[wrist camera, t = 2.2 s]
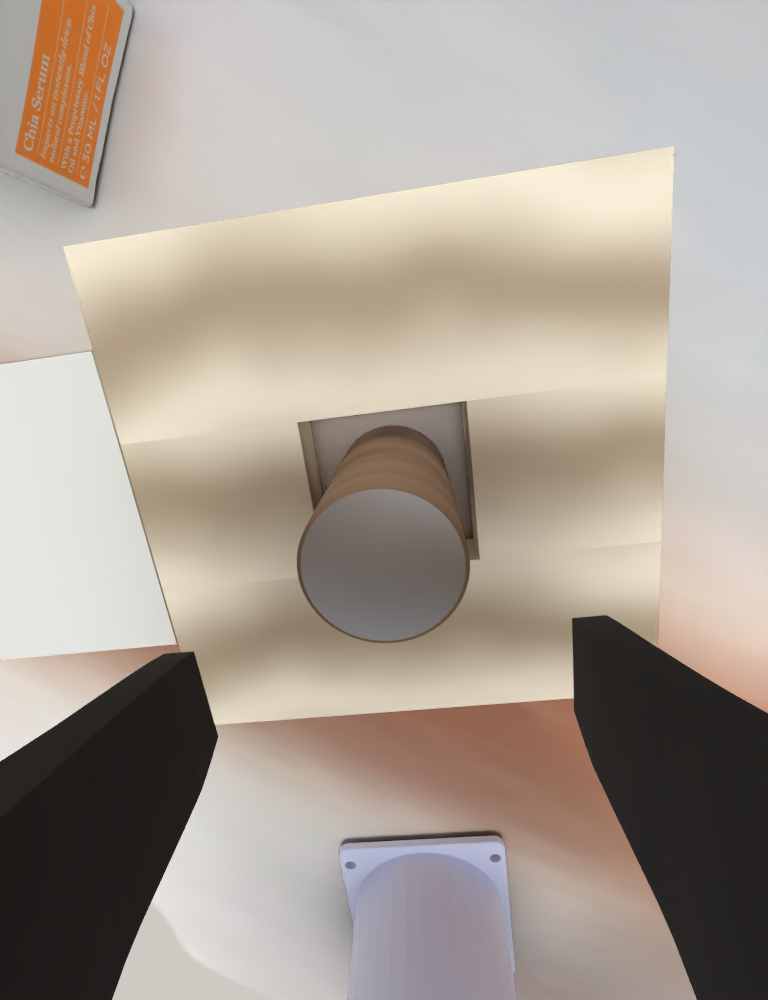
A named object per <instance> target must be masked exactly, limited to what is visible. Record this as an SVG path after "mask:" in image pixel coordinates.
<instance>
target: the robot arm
mask: <svg viewBox="0 0 768 1000" xmlns="http://www.w3.org/2000/svg"><path fill="white" fill-rule="evenodd" d="M572 639H573V683H574V712H575V715H576V718H577V721H578V724H579V727H580V730H581V733H582V736H583V739H584V742H585V745H586V748H587V750H588V753H589V756H590V759H591V762H592V765H593V767H594V769H595V771H596V773H597V776H598V778H599V780H600V782H601V784H602V786H603V788H604V790H605V793H606V795H607V797H608V799H609V801H610V803H611V805H612V807H613V810H614V812H615V814H616V816H617V818H618V820H619V822H620V824H621V826H622V828H623V831H624V833H625V835H626V837H627V839H628V841H629V843H630V845H631V847H632V849H633V851H634V854H635V856H636V858H637V860H638V862H639V864H640V866H641V868H642V870H643V872H644V874H645V877H646V879H647V881H648V883H649V885H650V887H651V889H652V891H653V893H654V895H655V898H656V900H657V902H658V904H659V906H660V908H661V911H662V913H663V915H664V918H665V920H666V922H667V925H668V927H669V929H670V931H671V934H672V936H673V938H674V941H675V943H676V946H677V948H678V951H679V954H680V956H681V959H682V962H683V964H684V967H685V969H686V972H687V975H688V977H689V980H690V982H691V985H692V988H693V990H694V993H695V996H696V998H697V1000H768V713H766V712H764V711H763V710H761V709H759V708H757V707H755V706H754V705H752V704H750V703H748V702H746V701H745V700H743V699H741V698H739V697H737V696H736V695H734V694H732V693H730V692H729V691H727V690H725V689H724V688H722V687H720V686H719V685H717V684H715V683H714V682H712V681H710V680H709V679H707V678H705V677H704V676H702V675H700V674H699V673H697V672H695V671H694V670H692V669H691V668H689V667H687V666H686V665H684V664H683V663H681V662H679V661H678V660H676V659H675V658H673V657H672V656H670V655H668V654H667V653H665V652H664V651H662V650H661V649H659V648H658V647H656V646H655V645H653V644H651V643H650V642H648V641H647V640H645V639H644V638H642V637H641V636H639V635H638V634H636V633H635V632H633V631H632V630H630V629H628V628H627V627H625V626H624V625H622V624H621V623H619V622H617V621H616V620H614V619H612V618H611V617H609V616H607V615H601V616H590V617H579V618H572ZM217 739H218V734H217V731H216V727H215V724H214V720H213V716H212V713H211V709H210V706H209V702H208V699H207V695H206V692H205V688H204V685H203V681H202V678H201V674H200V671H199V667H198V664H197V660H196V657H195V653H194V651H192V652H180V653H169V654H163V655H161V656H160V657H158V658H156V659H154V660H153V661H151V662H149V663H148V664H146V665H144V666H143V667H141V668H140V669H138V670H137V671H135V672H134V673H132V674H131V675H129V676H128V677H126V678H125V679H123V680H122V681H120V682H119V683H117V684H116V685H114V686H113V687H111V688H110V689H109V690H107V691H106V692H104V693H103V694H101V695H100V696H98V697H97V698H95V699H94V700H93V701H91V702H90V703H88V704H87V705H85V706H84V707H82V708H81V709H79V710H78V711H77V712H75V713H74V714H72V715H71V716H69V717H68V718H66V719H65V720H63V721H62V722H60V723H59V724H57V725H56V726H55V727H53V728H51V729H50V730H48V731H47V732H45V733H44V734H42V735H41V736H39V737H38V738H36V739H34V740H33V741H31V742H30V743H28V744H27V745H25V746H24V747H22V748H21V749H19V750H18V751H16V752H14V753H13V754H11V755H10V756H8V757H7V758H5V759H4V760H2V761H1V762H0V1000H112V998H113V995H114V992H115V989H116V987H117V984H118V981H119V978H120V976H121V973H122V970H123V967H124V964H125V962H126V959H127V957H128V954H129V952H130V949H131V947H132V944H133V942H134V939H135V937H136V935H137V932H138V930H139V927H140V925H141V923H142V921H143V919H144V916H145V914H146V912H147V910H148V908H149V905H150V903H151V901H152V899H153V897H154V894H155V892H156V890H157V888H158V886H159V884H160V881H161V879H162V877H163V875H164V873H165V870H166V868H167V866H168V864H169V862H170V859H171V857H172V855H173V853H174V851H175V849H176V846H177V844H178V842H179V840H180V838H181V835H182V833H183V831H184V829H185V826H186V824H187V822H188V820H189V818H190V815H191V813H192V811H193V809H194V806H195V804H196V802H197V799H198V797H199V795H200V792H201V790H202V787H203V784H204V781H205V778H206V775H207V772H208V769H209V766H210V763H211V759H212V756H213V752H214V749H215V746H216V742H217ZM339 860H340V864H341V869H342V874H343V879H344V883H345V888H346V893H347V897H348V902H349V907H350V911H351V916H352V921H353V925H354V934H353V944H352V955H351V965H350V976H349V986H348V997H347V1000H517V996H516V990H515V984H514V977H513V974H514V972H515V965H514V952H513V940H512V928H511V916H510V903H509V891H508V879H507V867H506V854H505V846H504V842H503V840H502V839H501V838H500V837H498V836H474V837H455V838H436V839H417V840H398V841H379V842H360V843H347V844H344V845H342V846H341V848H340V852H339Z"/></svg>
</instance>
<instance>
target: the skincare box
mask: <svg viewBox="0 0 768 1000" xmlns="http://www.w3.org/2000/svg"><path fill="white" fill-rule="evenodd" d="M132 13H133V9H132V6H131V4H130V3H129V1H128V0H0V171H1V172H4V173H6V174H8V175H11V176H13V177H16V178H18V179H20V180H23V181H25V182H27V183H30V184H32V185H35V186H37V187H39V188H42V189H44V190H47V191H49V192H52V193H54V194H57V195H59V196H62V197H64V198H67V199H69V200H71V201H74V202H76V203H78V204H81V205H83V206H86V207H91V206H92V204H93V201H94V193H95V186H96V179H97V174H98V169H99V165H100V161H101V156H102V151H103V146H104V140H105V135H106V130H107V125H108V120H109V115H110V110H111V104H112V100H113V96H114V92H115V88H116V84H117V79H118V75H119V70H120V66H121V62H122V57H123V53H124V48H125V44H126V40H127V35H128V31H129V27H130V23H131V19H132Z"/></svg>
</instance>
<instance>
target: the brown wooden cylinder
mask: <svg viewBox="0 0 768 1000" xmlns="http://www.w3.org/2000/svg"><path fill="white" fill-rule="evenodd" d="M297 573H298V578H299V582H300V586H301V588H302V591H303V593H304V595H305V597H306V599H307V601H308V602H309V604H310V605H311V607H312V608H313V609H314V611H315V612H316V613H317V614H318V615H319V616H320V617H321V618H322V619H323V620H324V621H325V622H326V623H328V624H329V625H330V626H332V627H333V628H335V629H336V630H338V631H340V632H341V633H343V634H346V635H348V636H350V637H353V638H356V639H359V640H362V641H367V642H373V643H397V642H404V641H408V640H412V639H415V638H418V637H420V636H423V635H425V634H427V633H429V632H430V631H432V630H434V629H435V628H437V627H438V626H440V625H441V624H442V623H443V622H444V621H446V620H447V619H448V618H449V617H450V616H451V614H452V613H453V612H454V611H455V610H456V608H457V607H458V605H459V603H460V602H461V600H462V598H463V596H464V594H465V591H466V588H467V585H468V581H469V574H470V557H469V551H468V546H467V543H466V539H465V536H464V532H463V528H462V525H461V521H460V518H459V514H458V511H457V507H456V503H455V500H454V496H453V493H452V489H451V486H450V482H449V478H448V475H447V471H446V468H445V464H444V461H443V458H442V456H441V454H440V452H439V450H438V449H437V447H436V446H435V445H434V444H433V443H432V441H430V440H429V439H428V438H427V437H426V436H424V435H423V434H421V433H420V432H418V431H416V430H413V429H411V428H408V427H403V426H384V427H379V428H376V429H373V430H371V431H369V432H367V433H365V434H364V435H362V436H361V437H360V438H359V439H358V440H356V441H355V443H354V444H353V445H352V446H351V447H350V449H349V450H348V452H347V454H346V456H345V457H344V459H343V461H342V463H341V465H340V466H339V468H338V470H337V472H336V473H335V475H334V477H333V479H332V481H331V482H330V484H329V486H328V488H327V490H326V491H325V493H324V495H323V497H322V499H321V500H320V502H319V504H318V506H317V507H316V509H315V511H314V513H313V515H312V516H311V518H310V520H309V522H308V524H307V525H306V527H305V529H304V532H303V534H302V536H301V539H300V542H299V545H298V552H297Z"/></svg>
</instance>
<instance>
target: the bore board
mask: <svg viewBox="0 0 768 1000" xmlns="http://www.w3.org/2000/svg"><path fill="white" fill-rule="evenodd" d="M673 165H674V146H672V147H666V148H660V149H654V150H648V151H642V152H635V153H629V154H623V155H617V156H611V157H605V158H599V159H593V160H587V161H581V162H575V163H569V164H562V165H556V166H550V167H544V168H538V169H532V170H526V171H520V172H514V173H508V174H502V175H496V176H489V177H483V178H477V179H471V180H465V181H459V182H453V183H447V184H441V185H435V186H429V187H423V188H416V189H410V190H404V191H398V192H392V193H386V194H380V195H374V196H368V197H362V198H356V199H350V200H343V201H337V202H331V203H325V204H319V205H313V206H307V207H301V208H295V209H289V210H283V211H277V212H270V213H264V214H258V215H252V216H246V217H240V218H234V219H228V220H222V221H216V222H210V223H204V224H197V225H191V226H185V227H179V228H173V229H167V230H161V231H155V232H149V233H143V234H137V235H131V236H124V237H118V238H112V239H106V240H100V241H94V242H88V243H82V244H76V245H70V246H64V247H63V248H64V252H65V255H66V259H67V262H68V266H69V269H70V273H71V276H72V279H73V283H74V286H75V290H76V293H77V297H78V300H79V303H80V307H81V310H82V314H83V317H84V321H85V324H86V328H87V331H88V334H89V338H90V341H91V345H92V348H93V352H94V355H95V359H96V362H97V365H98V369H99V372H100V376H101V379H102V383H103V386H104V389H105V393H106V396H107V400H108V403H109V407H110V410H111V414H112V417H113V420H114V424H115V427H116V431H117V434H118V438H119V441H120V445H121V448H122V451H123V455H124V458H125V462H126V465H127V469H128V472H129V476H130V479H131V482H132V486H133V489H134V493H135V496H136V500H137V503H138V506H139V510H140V513H141V517H142V520H143V524H144V527H145V531H146V534H147V537H148V541H149V544H150V548H151V551H152V555H153V558H154V562H155V565H156V568H157V572H158V575H159V579H160V582H161V586H162V589H163V592H164V596H165V599H166V603H167V606H168V610H169V613H170V617H171V620H172V623H173V627H174V630H175V634H176V637H177V641H178V644H179V648H180V651H181V652H192V651H194V653H195V657H196V660H197V664H198V667H199V671H200V674H201V678H202V681H203V685H204V688H205V692H206V695H207V699H208V702H209V706H210V709H211V713H212V716H213V720H214V724H215V725H221V724H234V723H247V722H261V721H274V720H287V719H301V718H314V717H328V716H341V715H354V714H368V713H381V712H394V711H408V710H421V709H434V708H448V707H461V706H474V705H488V704H501V703H514V702H528V701H541V700H554V699H568V698H574V683H573V639H572V618H579V617H590V616H601V615H607V616H609V617H611V618H612V619H614V620H616V621H617V622H619V623H621V624H622V625H624V626H625V627H627V628H628V629H630V630H632V631H633V632H635V633H636V634H638V635H639V636H641V637H642V638H644V639H645V640H647V641H648V642H650V643H651V644H653V645H655V646H656V647H658V623H659V593H660V562H661V532H662V501H663V470H664V440H665V409H666V379H667V348H668V318H669V287H670V257H671V226H672V196H673ZM454 402H461V403H462V414H463V426H464V438H465V449H466V461H467V473H468V484H469V496H470V508H471V519H472V531H473V538H472V539H466V543H467V546H468V551H469V557H470V574H469V581H468V585H467V588H466V591H465V594H464V596H463V598H462V600H461V602H460V603H459V605H458V607H457V608H456V610H455V611H454V612H453V613H452V614H451V616H450V617H449V618H448V619H447V620H446V621H444V622H443V623H442V624H441V625H440V626H438V627H437V628H435V629H434V630H432V631H430V632H429V633H427V634H425V635H423V636H420V637H418V638H415V639H412V640H408V641H404V642H397V643H373V642H367V641H362V640H359V639H356V638H353V637H350V636H348V635H346V634H343V633H341V632H340V631H338V630H336V629H335V628H333V627H332V626H330V625H329V624H328V623H326V622H325V621H324V620H323V619H322V618H321V617H320V616H319V615H318V614H317V613H316V612H315V611H314V609H313V608H312V607H311V605H310V604H309V602H308V601H307V599H306V597H305V595H304V593H303V591H302V588H301V586H300V582H299V578H298V573H297V552H298V545H299V542H300V539H301V536H302V534H303V532H304V529H305V527H306V525H307V524H308V522H309V520H310V518H311V516H312V515H313V513H314V511H315V509H316V507H317V506H318V504H319V502H320V500H321V499H322V497H323V492H322V487H321V481H320V475H319V470H318V464H317V458H316V452H315V447H314V441H313V435H312V430H311V424H310V421H312V420H320V419H328V418H336V417H344V416H352V415H360V414H368V413H375V412H383V411H391V410H399V409H407V408H415V407H423V406H431V405H439V404H446V403H454Z"/></svg>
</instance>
